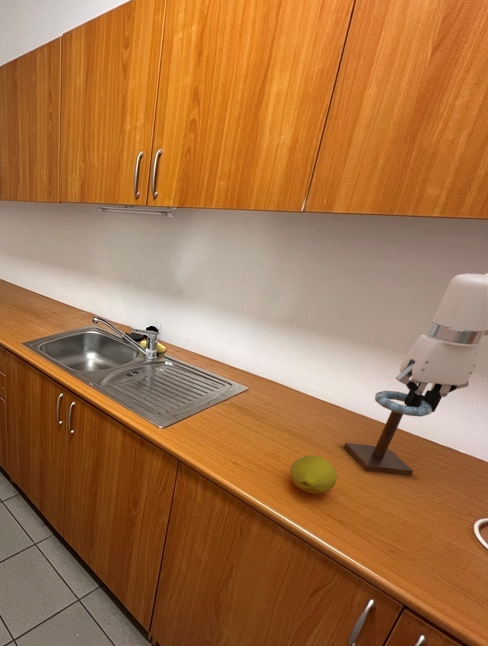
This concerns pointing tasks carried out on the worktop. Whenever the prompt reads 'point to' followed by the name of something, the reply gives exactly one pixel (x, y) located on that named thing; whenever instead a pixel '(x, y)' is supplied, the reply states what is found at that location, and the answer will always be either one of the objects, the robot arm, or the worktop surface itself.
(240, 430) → the worktop surface
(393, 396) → the ring
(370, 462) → the peg stand
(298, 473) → the lemon
